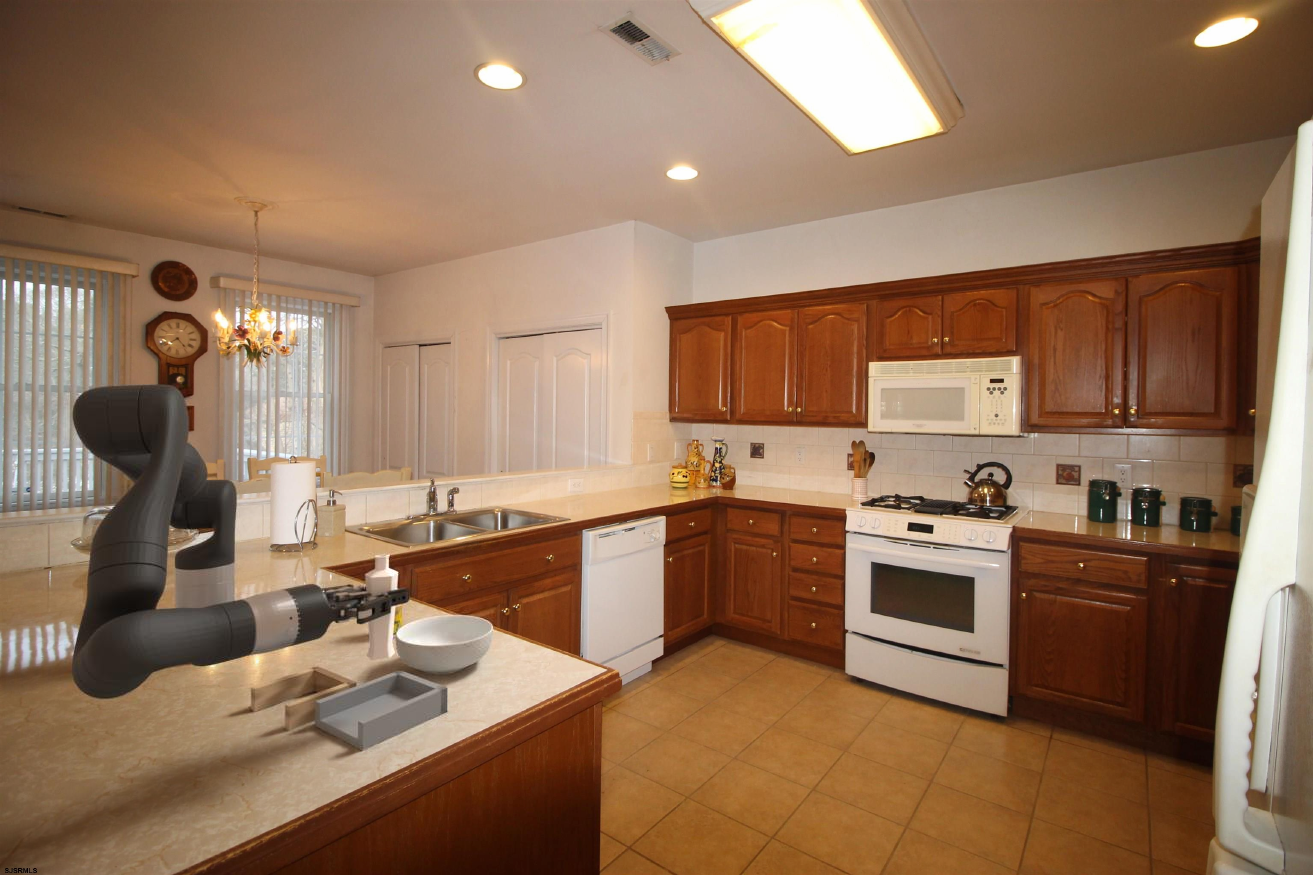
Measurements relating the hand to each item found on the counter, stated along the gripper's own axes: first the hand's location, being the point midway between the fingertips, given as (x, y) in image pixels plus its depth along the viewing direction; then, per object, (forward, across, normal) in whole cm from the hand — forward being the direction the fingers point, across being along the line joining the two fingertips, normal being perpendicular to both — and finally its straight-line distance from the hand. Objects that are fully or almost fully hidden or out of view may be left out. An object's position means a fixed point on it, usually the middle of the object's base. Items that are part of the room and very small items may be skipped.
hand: (397, 591), depth 96 cm
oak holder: (-7, +13, +19) cm, 24 cm away
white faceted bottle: (-3, 0, +9) cm, 10 cm away
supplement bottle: (+20, +32, +19) cm, 42 cm away
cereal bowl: (+16, +9, +19) cm, 27 cm away
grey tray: (-2, 0, +19) cm, 19 cm away
